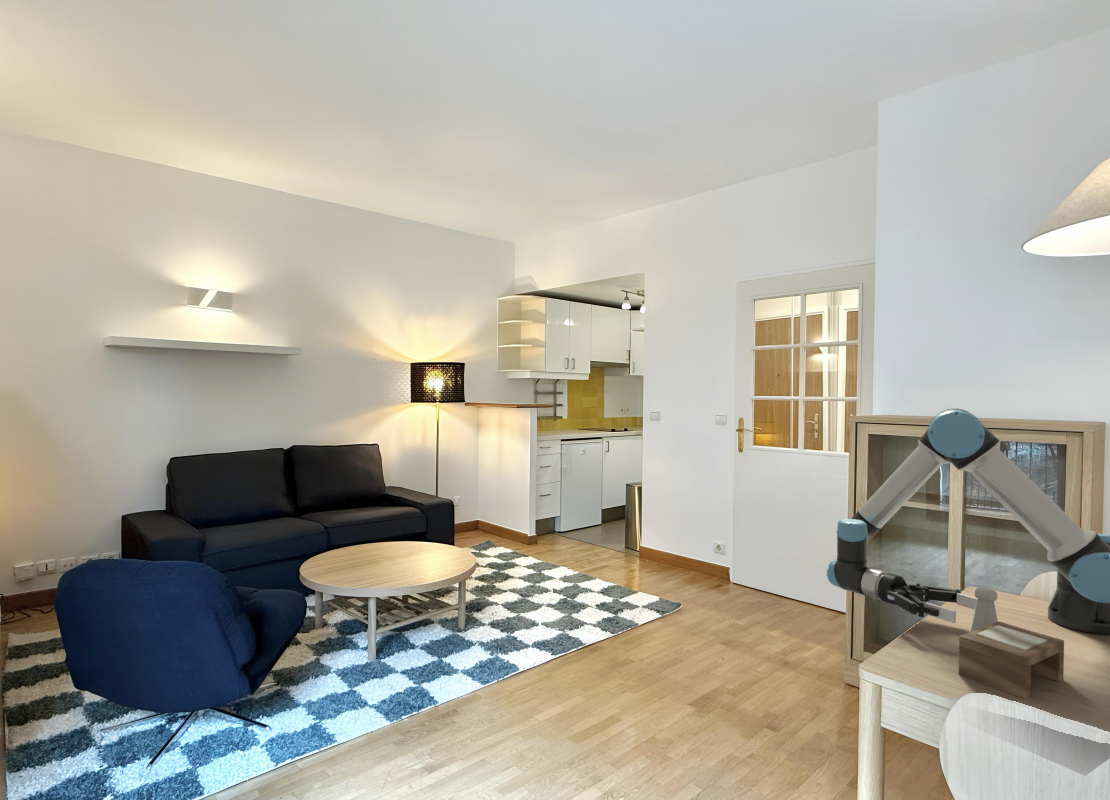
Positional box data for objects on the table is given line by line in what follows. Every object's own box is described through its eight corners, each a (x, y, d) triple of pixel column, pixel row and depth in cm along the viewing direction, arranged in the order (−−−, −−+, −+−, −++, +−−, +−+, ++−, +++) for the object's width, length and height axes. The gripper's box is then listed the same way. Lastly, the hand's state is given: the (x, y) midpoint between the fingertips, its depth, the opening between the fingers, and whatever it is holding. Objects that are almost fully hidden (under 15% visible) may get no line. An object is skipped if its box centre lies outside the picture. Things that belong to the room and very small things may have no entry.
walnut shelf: (998, 657, 139) (998, 620, 139) (1063, 679, 129) (1064, 639, 128) (958, 673, 131) (959, 634, 131) (1024, 698, 121) (1025, 655, 120)
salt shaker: (1005, 650, 142) (1006, 593, 142) (977, 648, 144) (978, 592, 143) (992, 640, 148) (993, 585, 148) (965, 638, 149) (966, 584, 149)
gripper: (912, 593, 173) (997, 617, 154) (854, 609, 160) (940, 638, 142) (912, 565, 173) (998, 587, 154) (855, 579, 160) (941, 605, 142)
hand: (971, 611), depth 148 cm, fingers open, 13 cm apart
